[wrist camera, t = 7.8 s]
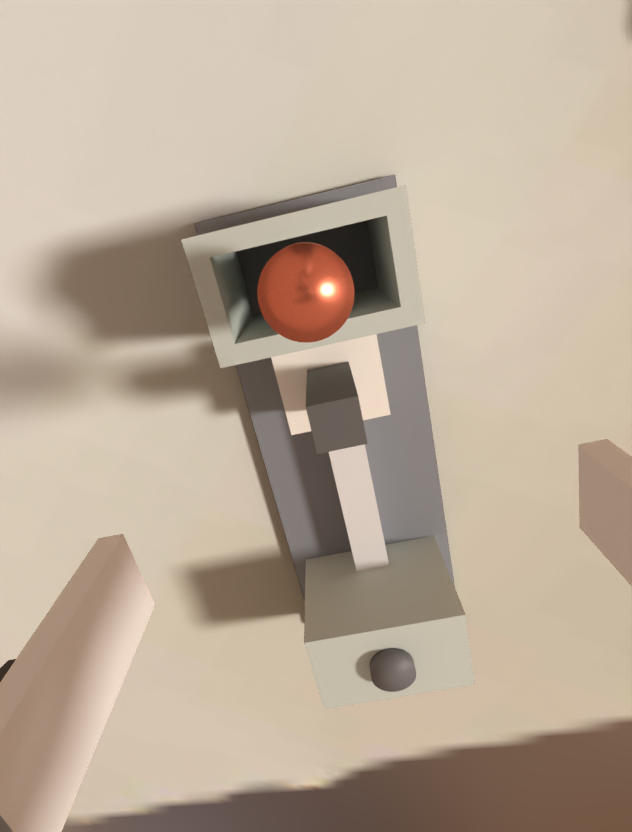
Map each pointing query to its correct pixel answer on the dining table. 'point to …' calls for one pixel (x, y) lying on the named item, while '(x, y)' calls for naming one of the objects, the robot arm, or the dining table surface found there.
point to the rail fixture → (351, 467)
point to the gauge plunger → (305, 292)
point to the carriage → (333, 391)
